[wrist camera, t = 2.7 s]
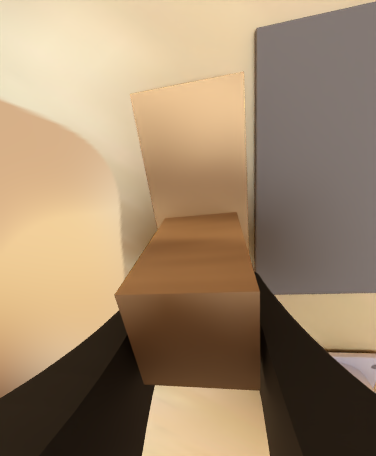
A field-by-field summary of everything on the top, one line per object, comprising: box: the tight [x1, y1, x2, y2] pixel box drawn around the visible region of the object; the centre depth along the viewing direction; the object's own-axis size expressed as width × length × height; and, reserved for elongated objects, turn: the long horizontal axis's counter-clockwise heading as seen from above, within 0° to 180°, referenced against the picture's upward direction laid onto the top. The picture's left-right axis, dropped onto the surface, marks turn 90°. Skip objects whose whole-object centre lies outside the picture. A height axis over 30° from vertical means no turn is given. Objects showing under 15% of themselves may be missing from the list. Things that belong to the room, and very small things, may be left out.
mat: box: [255, 2, 376, 295], centre depth 11 cm, size 14×9×1 cm, turn 8°
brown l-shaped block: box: [115, 72, 260, 390], centre depth 8 cm, size 9×4×7 cm, turn 8°
